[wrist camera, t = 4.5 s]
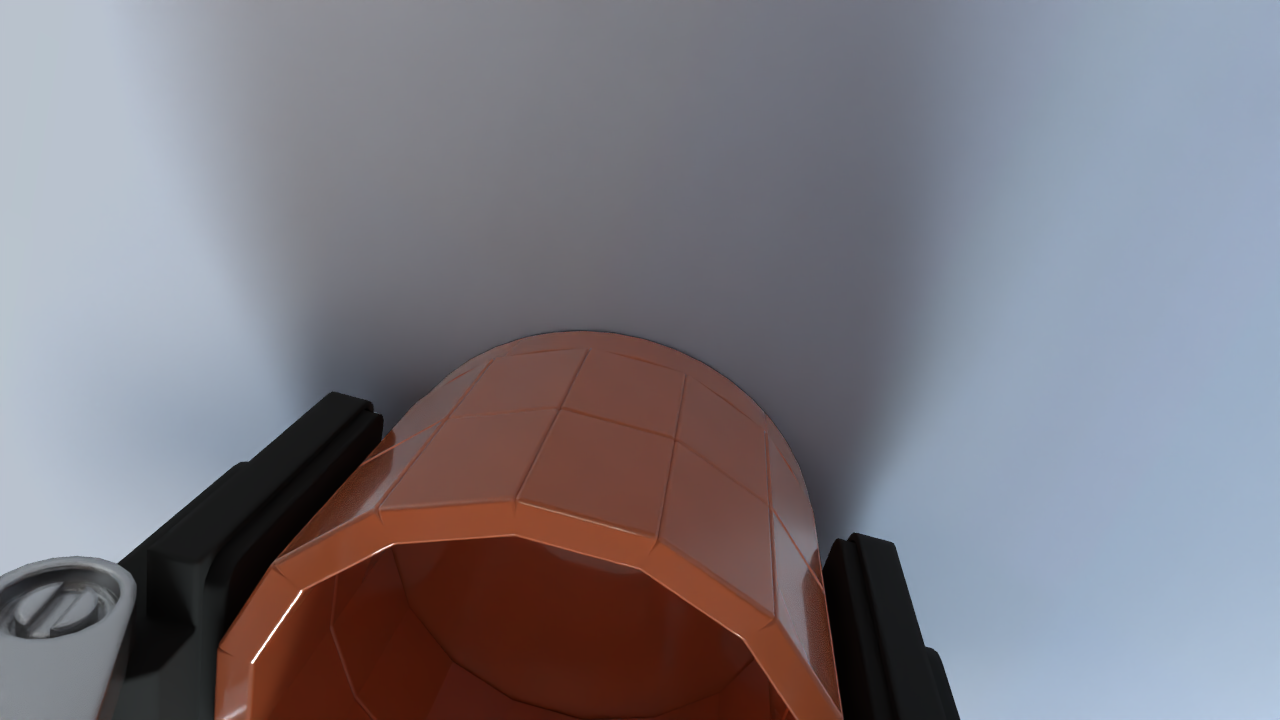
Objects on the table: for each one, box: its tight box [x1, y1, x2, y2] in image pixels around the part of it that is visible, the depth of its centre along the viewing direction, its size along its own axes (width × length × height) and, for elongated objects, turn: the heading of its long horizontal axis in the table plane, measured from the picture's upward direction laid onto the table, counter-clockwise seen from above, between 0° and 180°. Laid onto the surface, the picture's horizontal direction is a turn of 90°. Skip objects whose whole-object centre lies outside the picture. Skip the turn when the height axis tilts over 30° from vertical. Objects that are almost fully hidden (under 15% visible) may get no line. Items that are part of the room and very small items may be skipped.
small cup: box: [213, 331, 844, 720], centre depth 10 cm, size 6×6×4 cm
